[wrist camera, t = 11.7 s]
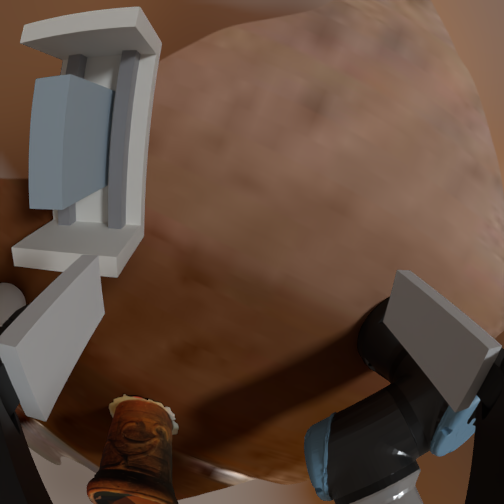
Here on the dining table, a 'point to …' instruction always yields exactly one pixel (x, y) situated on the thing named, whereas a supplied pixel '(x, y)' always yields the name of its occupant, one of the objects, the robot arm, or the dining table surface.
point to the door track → (121, 139)
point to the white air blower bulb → (10, 301)
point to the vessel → (136, 455)
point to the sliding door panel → (68, 140)
